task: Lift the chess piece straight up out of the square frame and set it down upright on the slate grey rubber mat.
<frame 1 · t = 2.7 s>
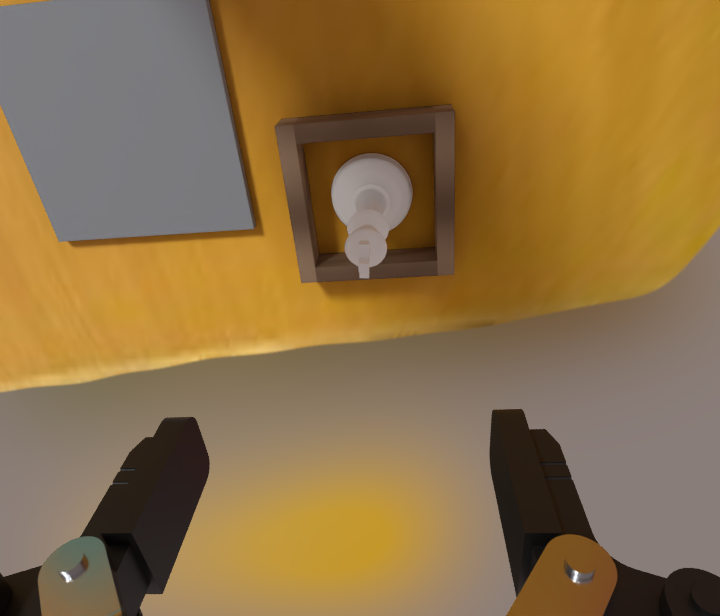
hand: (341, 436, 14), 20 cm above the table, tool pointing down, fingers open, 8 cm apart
square frame: (371, 194, 31), on the table
chess piece: (371, 192, 31), resting in square frame
mat: (125, 127, 30), on the table
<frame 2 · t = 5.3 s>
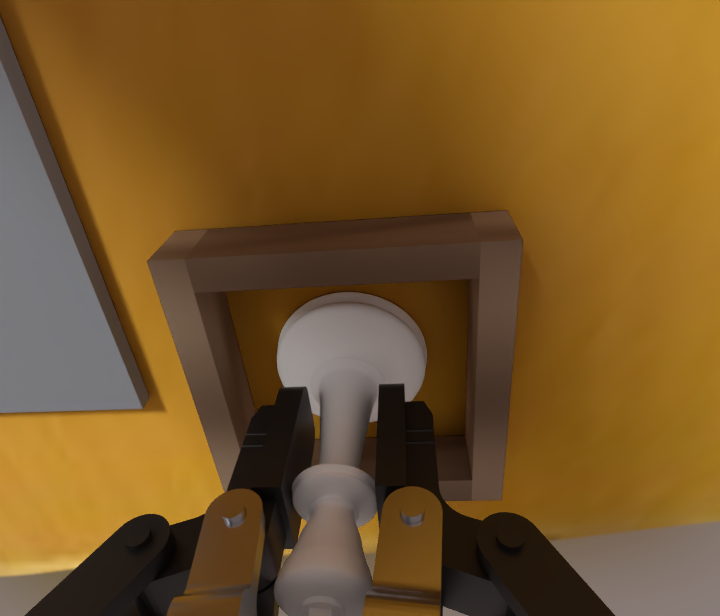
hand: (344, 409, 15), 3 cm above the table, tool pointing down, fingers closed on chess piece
square frame: (352, 356, 17), on the table
chess piece: (352, 352, 17), resting in square frame, touching gripper
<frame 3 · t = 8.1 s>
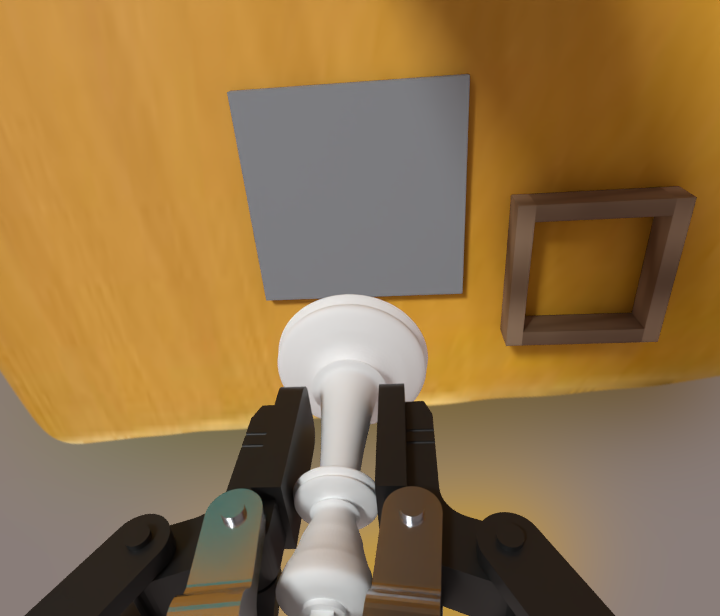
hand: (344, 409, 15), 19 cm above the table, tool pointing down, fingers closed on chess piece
square frame: (581, 263, 32), on the table
chess piece: (353, 354, 17), point 16 cm above the table, touching gripper
mat: (355, 198, 31), on the table
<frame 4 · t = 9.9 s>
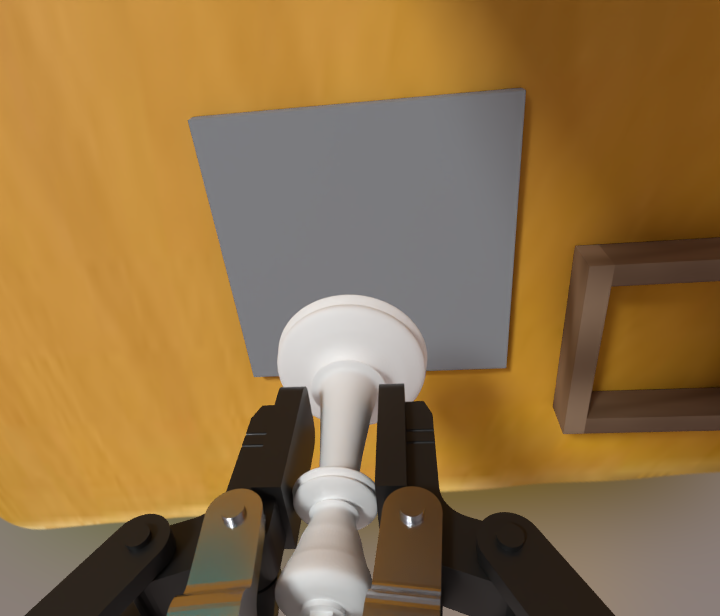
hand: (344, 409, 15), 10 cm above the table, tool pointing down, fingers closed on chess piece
square frame: (664, 329, 25), on the table
chess piece: (352, 354, 17), point 7 cm above the table, touching gripper
mat: (366, 253, 23), on the table
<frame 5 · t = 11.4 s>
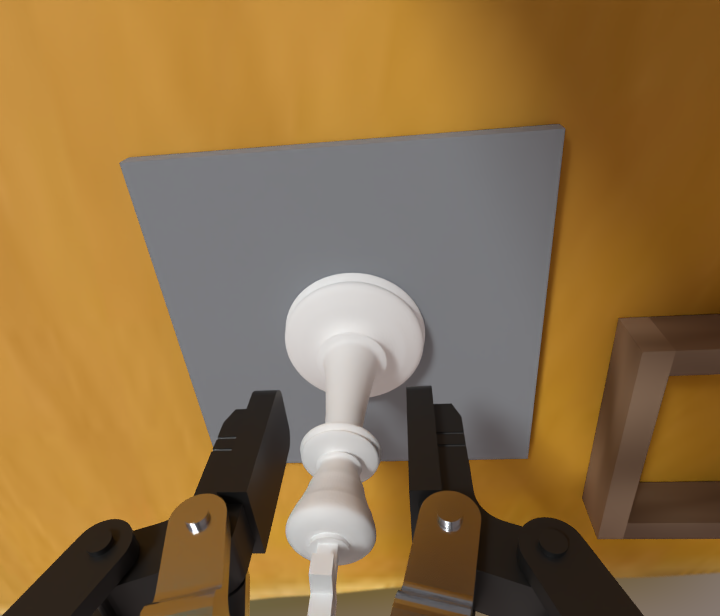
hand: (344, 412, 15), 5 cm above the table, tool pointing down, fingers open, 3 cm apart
chess piece: (355, 330, 18), resting on mat
mat: (355, 323, 19), on the table
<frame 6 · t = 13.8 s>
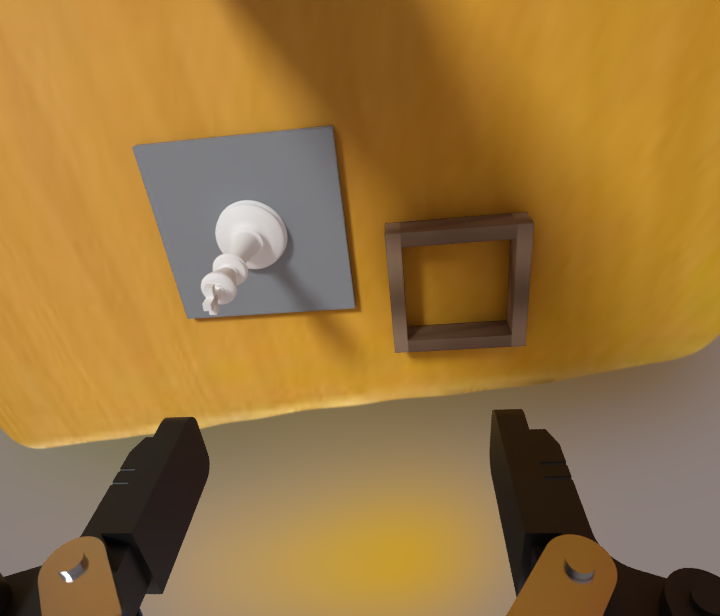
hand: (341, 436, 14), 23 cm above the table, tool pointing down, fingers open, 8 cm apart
square frame: (455, 279, 37), on the table
chess piece: (252, 233, 35), resting on mat
mat: (253, 230, 36), on the table
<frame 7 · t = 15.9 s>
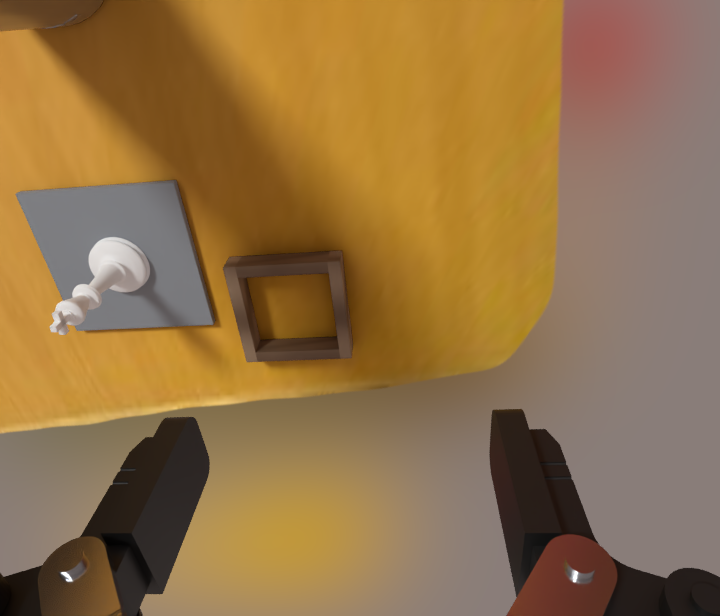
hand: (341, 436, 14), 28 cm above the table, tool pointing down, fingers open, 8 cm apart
square frame: (294, 302, 45), on the table
chess piece: (122, 262, 43), resting on mat
mat: (123, 260, 43), on the table
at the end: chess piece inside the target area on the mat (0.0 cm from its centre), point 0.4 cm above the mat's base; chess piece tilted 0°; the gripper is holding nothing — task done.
